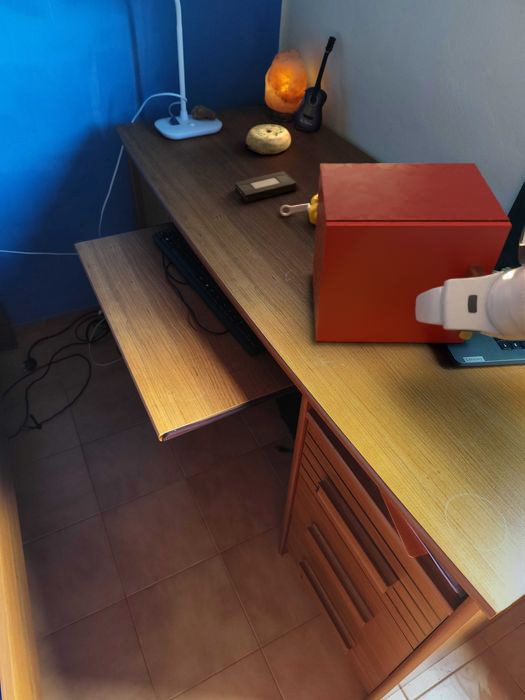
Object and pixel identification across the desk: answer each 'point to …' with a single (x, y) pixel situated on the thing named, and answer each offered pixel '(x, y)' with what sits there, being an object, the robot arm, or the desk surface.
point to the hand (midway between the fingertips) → (471, 311)
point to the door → (397, 276)
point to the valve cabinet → (399, 199)
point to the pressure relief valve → (304, 209)
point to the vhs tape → (265, 186)
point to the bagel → (268, 139)
